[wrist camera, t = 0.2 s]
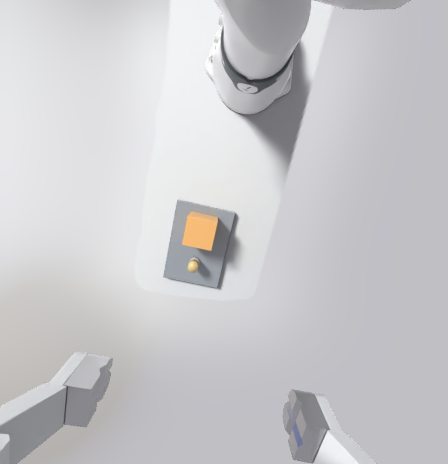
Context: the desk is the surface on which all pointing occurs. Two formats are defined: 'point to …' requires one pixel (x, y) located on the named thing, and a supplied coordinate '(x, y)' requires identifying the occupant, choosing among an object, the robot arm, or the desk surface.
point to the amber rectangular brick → (200, 230)
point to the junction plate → (195, 259)
